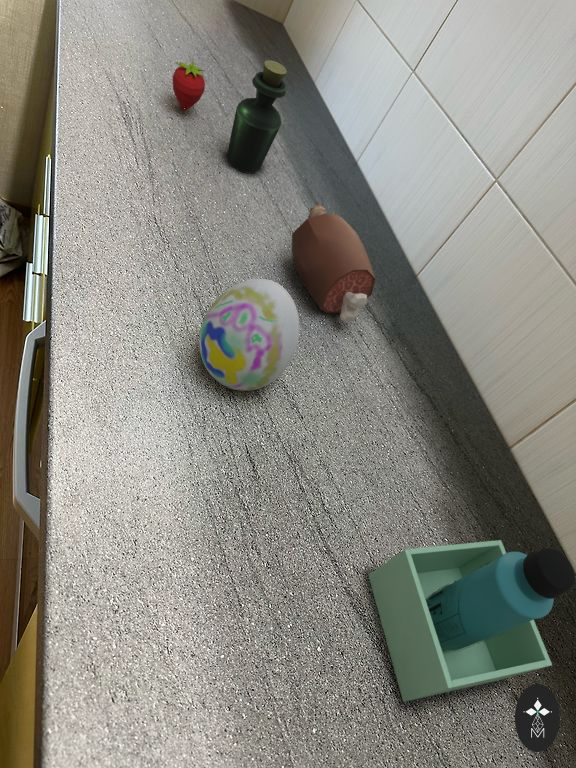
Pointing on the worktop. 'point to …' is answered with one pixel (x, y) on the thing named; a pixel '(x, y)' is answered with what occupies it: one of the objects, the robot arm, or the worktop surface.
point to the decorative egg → (250, 335)
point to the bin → (417, 633)
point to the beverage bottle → (499, 597)
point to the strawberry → (188, 85)
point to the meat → (332, 264)
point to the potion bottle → (257, 120)
